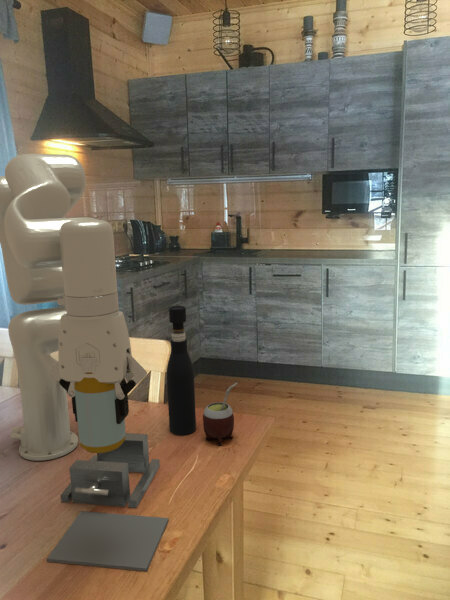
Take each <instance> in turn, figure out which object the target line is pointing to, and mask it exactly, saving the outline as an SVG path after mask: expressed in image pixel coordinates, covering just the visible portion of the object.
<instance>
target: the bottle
mask: <svg viewBox="0 0 450 600" xmlns="http://www.w3.org/2000/svg"><path fill="white" fill-rule="evenodd" d="M79 361H80V362H81V364H79V365H81V370H82V372H86V373H82V377H84V378H83V379H82V380H81V381H80V382H75V383H74V386H75V388H74V389H75V399H76V410H77V421H78V422H77V428H78V429H77V430H78V442H79V445H80V447H81V448H82V449H84V450H85V451H86V452H88V453H91V454H92V453H93V454H97V453H105V452H109V451H112V450H115V449H117V448H118V447H120V446H121V444H122V443H123V442H124V441H125V438H126V433H127V432H126V418H125V419H124V420H123V421H122V422H121V424H117V423H116V410H115V400H116V399H117V396H116V393H115V384H114V383H112V384H108V383H101V382H99V381H98V380H97V379H95V378H97V376H96V374H92V372H96V370H95V367H97V366H98V365H96V366H95V364H96V363H97V359H96V358H93V357H90V358H88V357H87V358H86V357H80V358H79ZM120 383H121V381H120ZM121 385H122V384H121Z"/></svg>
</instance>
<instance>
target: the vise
mask: <svg viewBox="0 0 450 600" xmlns="http://www.w3.org/2000/svg"><path fill="white" fill-rule="evenodd" d="M148 436H149V435H148V433H132V432H126V438H125V441H124V442H123V443H122V444H121V446H120V447H118V448H117V449H115V450H112V451H109V452H105V453H96V454H93V455H92V456H91V457H90V459H89V460H85V459H75V461H74V462H73V464H71V466H70V467H69V469H68V470H69V478H70V479H69V480H70V483H69V484H68V485H66V487H65V488H64V490H63V491H62V492H61V494H60V500H61V501H60V502H61V503H70V502H71V501H72V504H79V505H80V504H82V505H95V506H105V507H107V506H108V507H119V508H125V507H126V505H127V503H128V507H127V508H133V509H137V508H138V506H139V505H140V503H141V500H142V499H143V497H144V495H145V493H146V492H147V490H148V488H149V486H150V484H151V482H152V481H153V479H154V477H155V476H156V474H157V472H158V470H159V468H160V463H161V462H160V458H151V460H150V454H149V453H150V452H149V440H148ZM129 473H143V474H142V476H141V478H140V479H139V481H138V482H137V484H136V485H135V487H134V489H133V491H132V493H131V490H130V489H131V488H130V474H129Z"/></svg>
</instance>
